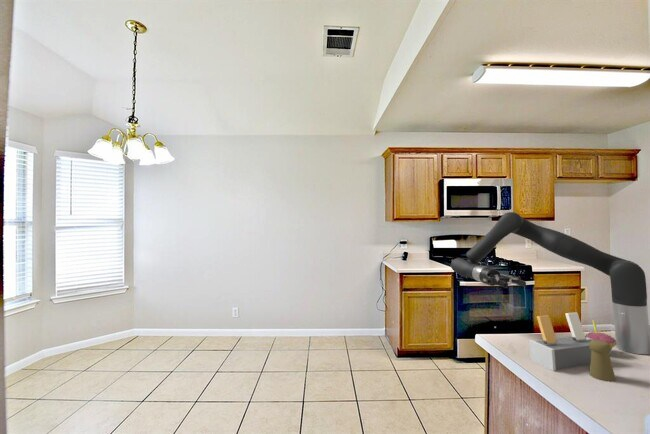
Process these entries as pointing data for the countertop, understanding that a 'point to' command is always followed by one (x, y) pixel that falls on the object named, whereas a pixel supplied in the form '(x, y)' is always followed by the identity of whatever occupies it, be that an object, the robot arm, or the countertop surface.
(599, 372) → the cork
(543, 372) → the countertop surface
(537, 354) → the switch box
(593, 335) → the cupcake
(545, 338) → the outlet rocker
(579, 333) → the rocker switch
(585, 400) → the countertop surface
